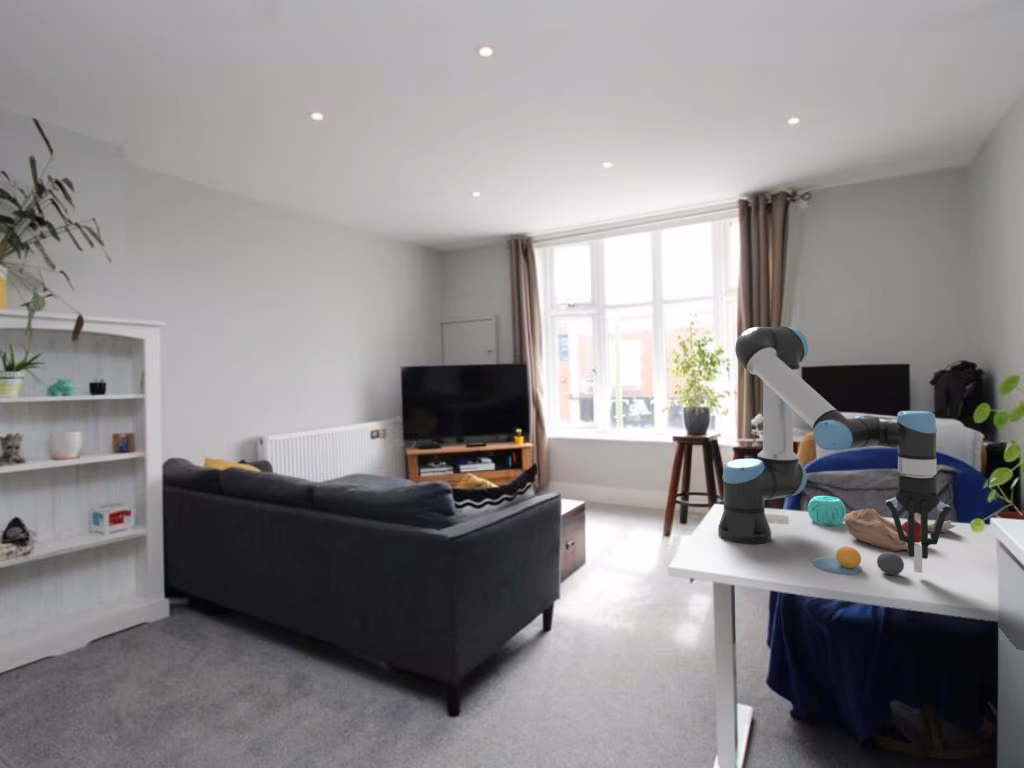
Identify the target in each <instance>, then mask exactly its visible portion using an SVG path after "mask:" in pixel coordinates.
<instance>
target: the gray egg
mask: <svg viewBox="0 0 1024 768" xmlns="http://www.w3.org/2000/svg"><path fill="white" fill-rule="evenodd" d="M876 559H877V560H876V563H877V567H878V568H879V570H881V572H883V573H884V574H886V575H890V576H895V575H899V574H901V573H902V572H903V571H904V567H905V563H904V560H903V559H902V557H901V556H900V555H899V554H897V553H895V552H894V551H885V552H882V553H880V554H879V555H878V557H877V558H876Z"/></svg>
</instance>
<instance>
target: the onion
mask: <svg viewBox="0 0 1024 768" xmlns="http://www.w3.org/2000/svg"><path fill="white" fill-rule="evenodd" d="M901 525H902V529H903V530H904V531H905V532H906V533H907V536H908V520H906V521H905V522H904V523H902V524H901ZM914 539H915V542H917V543H921V524H920V523H919V522H917V521H916V520H915V518H914Z"/></svg>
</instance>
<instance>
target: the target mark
mask: <svg viewBox="0 0 1024 768" xmlns="http://www.w3.org/2000/svg"><path fill="white" fill-rule="evenodd" d="M812 565H813V566H814V567H816V568H817V569H818V570H819V569H820V570H823V571H826V572H827V573H828V572H829V573H832V574H837V575H838V574H839V575H855V574H859V573H861V572H862V571H863V568H862V567H861V566H860V564H859V565H858V566H857V567H856V568H845V567H843V566H842V565H840V564H839V562H838V561H837V559H836V557H821V558H820V557H819V558H816V559H814V560H813V561H812Z"/></svg>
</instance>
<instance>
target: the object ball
mask: <svg viewBox="0 0 1024 768" xmlns="http://www.w3.org/2000/svg"><path fill="white" fill-rule="evenodd" d="M835 558H836V559H837V561H838V562H839V564H840V565H842V566H843V567H845V568H856V567H857V566H858V565H859V566H860V564H861V562H862V556H861V553H860V552H859V551H858V550H857V549H856V548H854V547H852V546H847V545H845V546H841V547H839V549H837V551H836V552H835Z"/></svg>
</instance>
